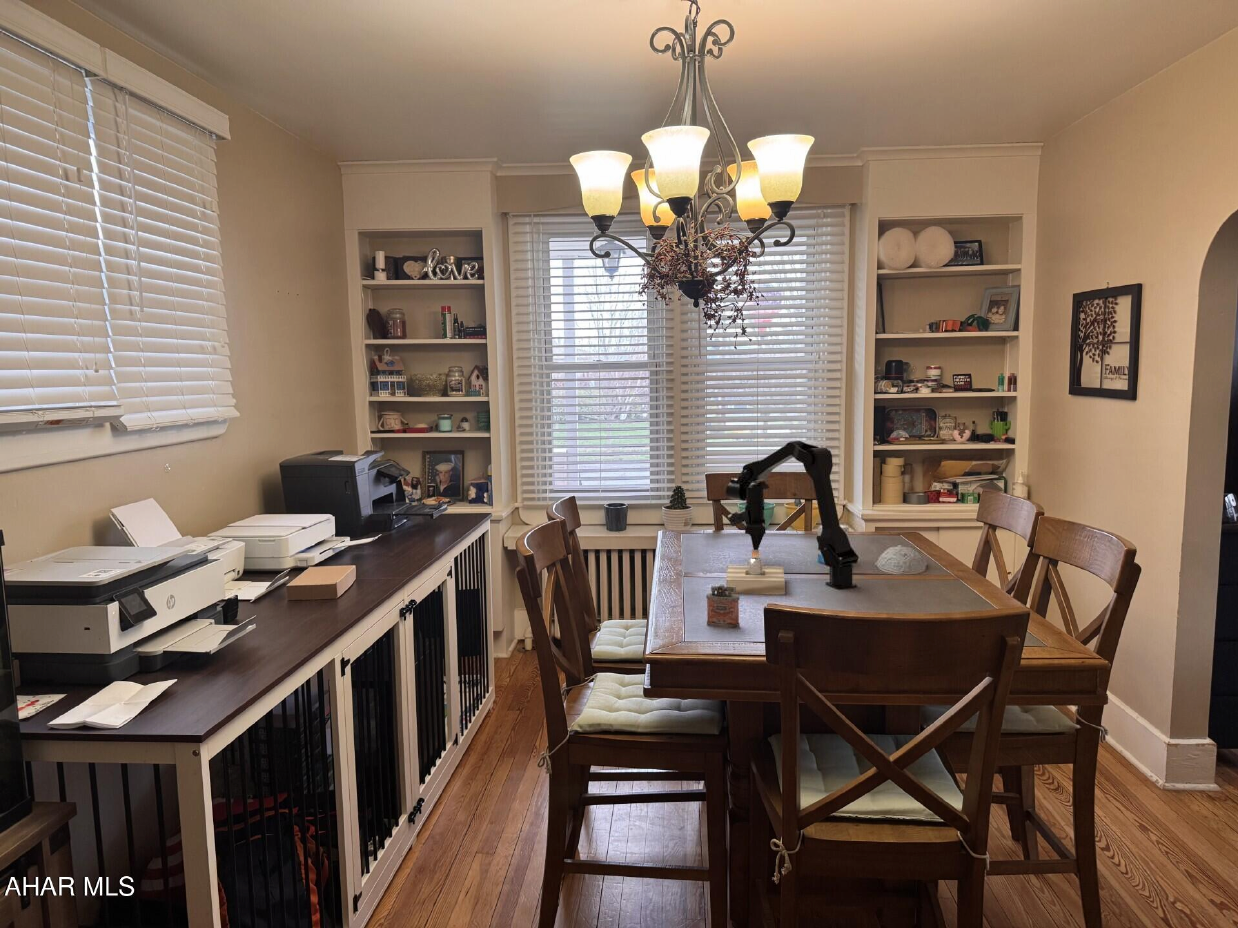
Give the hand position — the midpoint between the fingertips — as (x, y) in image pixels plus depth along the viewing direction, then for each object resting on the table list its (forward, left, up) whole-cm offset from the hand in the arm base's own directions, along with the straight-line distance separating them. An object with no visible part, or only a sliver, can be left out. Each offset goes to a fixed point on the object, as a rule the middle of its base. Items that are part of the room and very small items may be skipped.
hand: (755, 550), depth 250 cm
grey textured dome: (-19, -41, -6) cm, 45 cm away
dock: (-22, +13, -5) cm, 25 cm away
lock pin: (-9, +5, 0) cm, 11 cm away
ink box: (-7, -24, -5) cm, 26 cm away
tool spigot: (-22, +12, -5) cm, 25 cm away
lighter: (-50, +38, -5) cm, 62 cm away
